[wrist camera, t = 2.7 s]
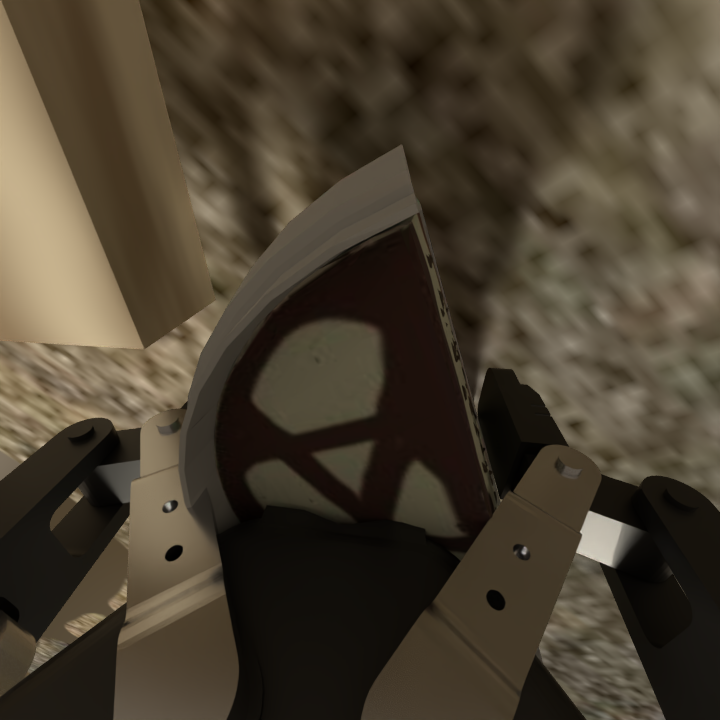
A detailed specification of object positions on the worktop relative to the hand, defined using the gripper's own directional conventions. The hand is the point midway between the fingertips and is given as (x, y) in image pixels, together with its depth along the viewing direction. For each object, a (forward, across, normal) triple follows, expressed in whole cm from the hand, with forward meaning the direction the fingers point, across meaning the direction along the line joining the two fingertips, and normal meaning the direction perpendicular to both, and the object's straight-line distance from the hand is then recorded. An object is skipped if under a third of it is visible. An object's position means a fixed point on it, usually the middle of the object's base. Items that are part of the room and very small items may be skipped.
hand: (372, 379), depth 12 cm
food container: (+3, 0, 0) cm, 3 cm away
